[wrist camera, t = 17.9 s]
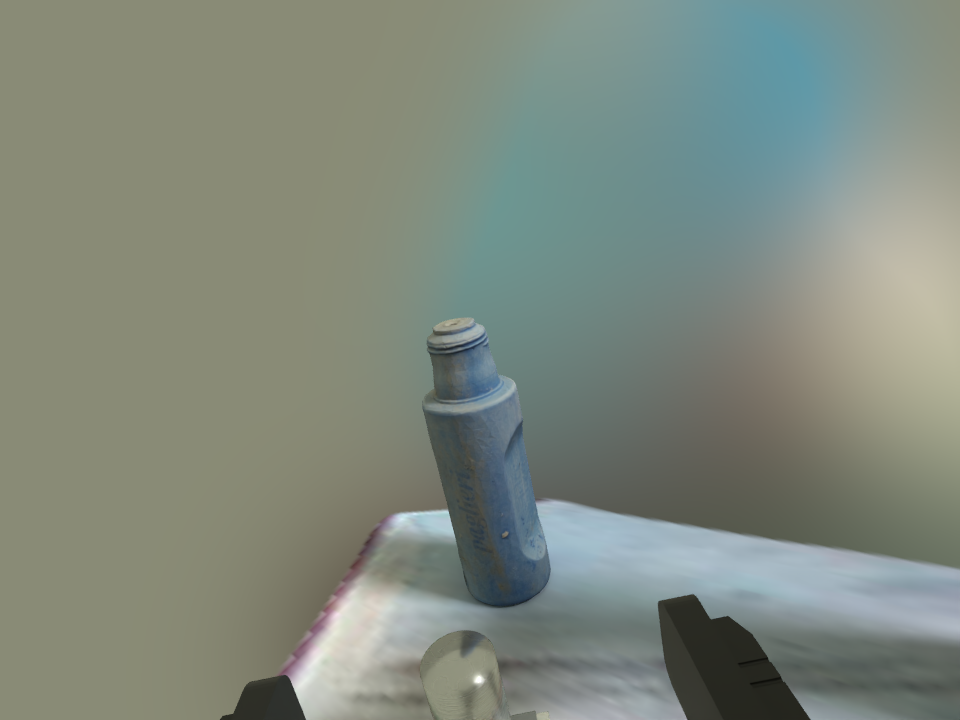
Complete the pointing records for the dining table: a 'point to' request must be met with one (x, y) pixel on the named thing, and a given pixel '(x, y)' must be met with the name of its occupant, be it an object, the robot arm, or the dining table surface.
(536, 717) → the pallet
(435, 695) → the cylinder
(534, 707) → the dining table surface
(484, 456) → the bottle
